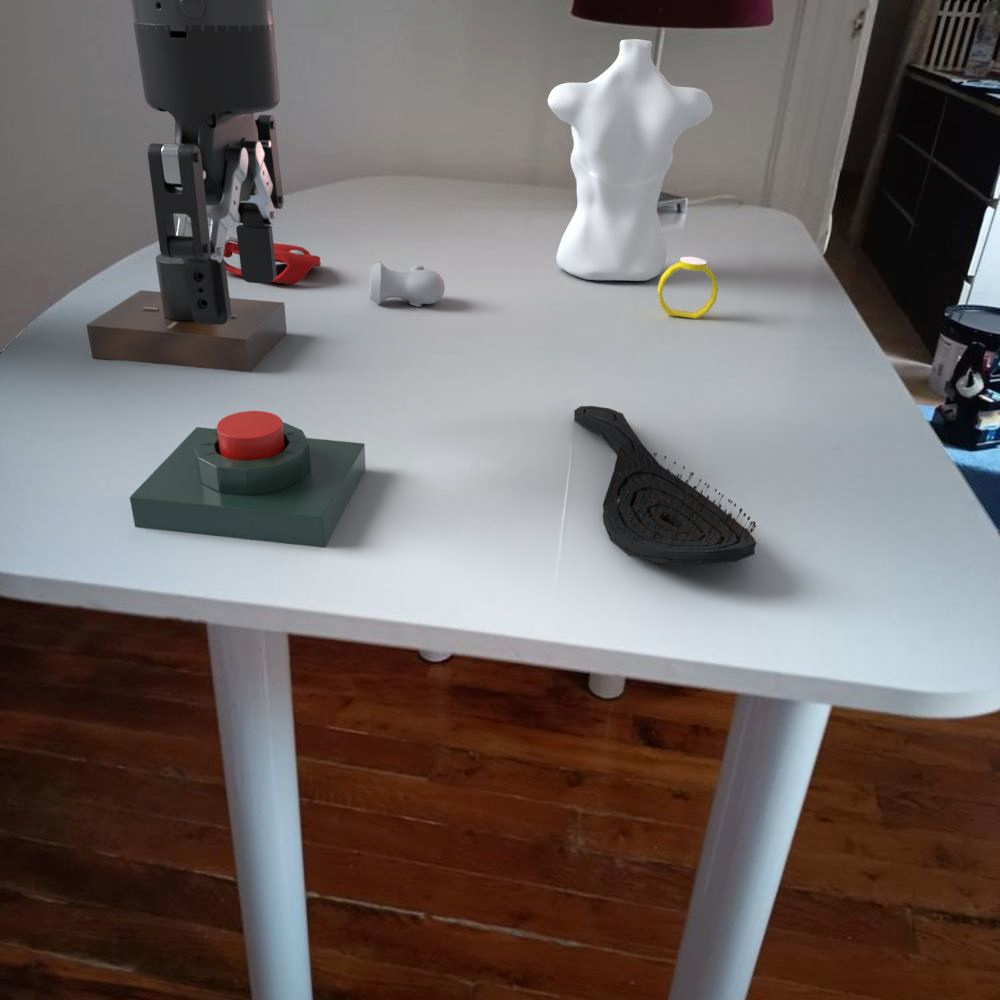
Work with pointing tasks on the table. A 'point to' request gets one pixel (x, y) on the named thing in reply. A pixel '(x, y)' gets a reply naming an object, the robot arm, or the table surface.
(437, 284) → the pale two-lobed sculpture
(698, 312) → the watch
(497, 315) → the table surface
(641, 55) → the torso sculpture
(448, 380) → the table surface
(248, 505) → the switch block
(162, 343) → the dimmer panel
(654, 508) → the hairbrush
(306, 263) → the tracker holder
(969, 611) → the table surface
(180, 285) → the dimmer knob
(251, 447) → the button
